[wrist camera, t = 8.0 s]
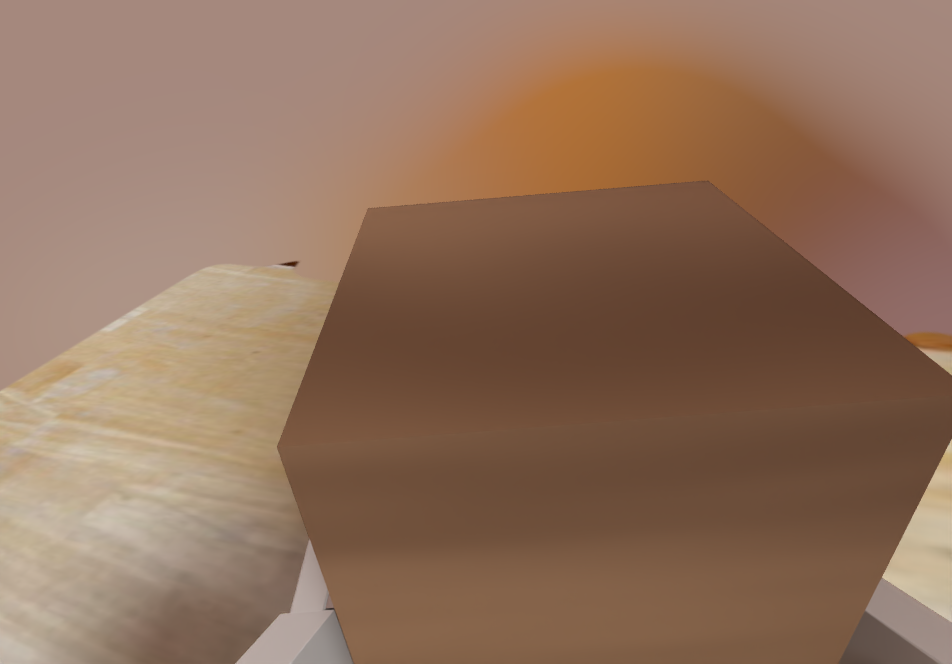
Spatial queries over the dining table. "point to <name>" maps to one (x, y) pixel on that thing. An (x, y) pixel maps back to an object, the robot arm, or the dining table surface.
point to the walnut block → (604, 436)
